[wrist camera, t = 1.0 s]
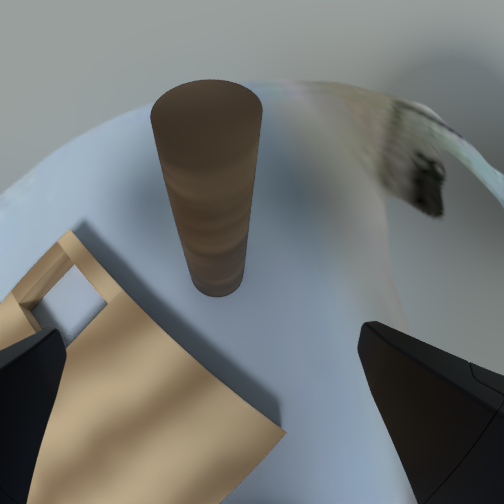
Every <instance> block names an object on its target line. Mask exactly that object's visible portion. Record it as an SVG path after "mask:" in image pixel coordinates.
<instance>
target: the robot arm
mask: <svg viewBox="0 0 504 504" xmlns="http://www.w3.org/2000/svg"><path fill="white" fill-rule="evenodd" d="M358 354H359V357H360V360H361V363H362V366H363V369H364V372H365V376H366V379H367V382H368V385H369V388H370V391H371V394H372V396H373V398H374V401H375V403H376V405H377V407H378V410H379V412H380V414H381V416H382V418H383V421H384V423H385V425H386V428H387V430H388V432H389V434H390V437H391V439H392V441H393V444H394V446H395V448H396V451H397V453H398V456H399V458H400V460H401V463H402V465H403V468H404V470H405V473H406V475H407V477H408V480H409V482H410V485H411V487H412V490H413V492H414V495H415V498H416V500H417V503H418V504H504V376H503V375H500V374H498V373H495V372H492V371H490V370H488V369H485V368H483V367H480V366H478V365H476V364H473V363H471V362H470V363H469V362H468V361H466V360H464V359H461V358H459V357H457V356H455V355H452V354H450V353H448V352H445V351H443V350H441V349H439V348H436V347H434V346H432V345H429V344H427V343H425V342H423V341H420V340H418V339H416V338H414V337H411V336H409V335H407V334H405V333H402V332H400V331H398V330H396V329H393V328H391V327H389V326H387V325H384V324H382V323H380V322H378V321H371V322H365V323H364V324H363V325H362V327H361V332H360V337H359V341H358ZM66 359H67V353H66V349H65V346H64V343H63V340H62V337H61V334H60V332H59V330H58V329H55V328H45V329H43V330H41V331H39V332H37V333H35V334H33V335H31V336H29V337H27V338H25V339H23V340H21V341H19V342H16V343H14V344H12V345H10V346H8V347H6V348H4V349H2V350H0V504H27V500H28V495H29V491H30V486H31V482H32V478H33V474H34V470H35V466H36V462H37V458H38V454H39V451H40V447H41V444H42V440H43V437H44V434H45V431H46V427H47V424H48V421H49V418H50V415H51V412H52V409H53V406H54V403H55V400H56V397H57V393H58V389H59V385H60V381H61V377H62V374H63V370H64V366H65V363H66Z"/></svg>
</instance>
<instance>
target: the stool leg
mask: <svg viewBox="0 0 504 504" xmlns="http://www.w3.org/2000/svg"><path fill="white" fill-rule="evenodd" d="M262 112H263V109H262V104H261V102H260V100H259V98H258V97H257V96H256V95H255V94H254V93H253V92H252V91H251V90H249V89H248V88H246V87H244V86H242V85H239V84H237V83H233V82H229V81H224V80H199V81H193V82H188V83H185V84H182V85H179V86H177V87H175V88H173V89H171V90H169V91H168V92H166V93H165V94H163V95H162V96H161V97H160V98H159V99H158V100H157V101H156V103H155V104H154V106H153V108H152V110H151V115H150V118H151V124H152V129H153V133H154V138H155V142H156V147H157V151H158V155H159V160H160V164H161V168H162V172H163V176H164V180H165V184H166V188H167V192H168V196H169V200H170V204H171V208H172V212H173V215H174V219H175V223H176V226H177V230H178V234H179V237H180V241H181V244H182V248H183V251H184V255H185V258H186V262H187V265H188V268H189V272H190V275H191V278H192V281H193V283H194V285H195V287H196V288H197V289H198V290H199V291H200V292H202V293H203V294H205V295H207V296H211V297H223V296H226V295H229V294H231V293H232V292H234V291H235V290H236V289H237V288H238V287H239V286H240V284H241V282H242V279H243V274H244V265H245V256H246V247H247V239H248V230H249V221H250V213H251V204H252V196H253V187H254V179H255V170H256V162H257V153H258V145H259V137H260V128H261V120H262Z"/></svg>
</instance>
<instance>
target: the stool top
mask: <svg viewBox="0 0 504 504" xmlns="http://www.w3.org/2000/svg"><path fill="white" fill-rule="evenodd" d="M74 264H75V265H76V266H77V268H78V269H79V270H80V271H81V273H82V274H83V275H84V276H85V277H86V279H87V280H88V281H89V282H90V283H91V285H92V286H93V287H94V288H95V289H96V291H97V292H98V293H99V294H100V295H101V296H102V297H103V299H104V300H105V301H106V302H107V303H108V305H107V306H106V307H105V308H104V309H103V310H102V311H101V312H100V313H99V314H98V315H97V316H96V317H95V318H94V319H93V320H92V321H91V322H90V324H89V325H88V326H87V327H86V328H85V329H84V330H83V331H82V332H81V333H80V334H79V335H78V336H77V338H76V339H75V340H74V341H73V342H72V343H71V344H70V345H69V346H68V347H67V349H66V353H67V359H66V363H65V366H64V370H63V374H62V377H61V381H60V385H59V389H58V393H57V397H56V400H55V403H54V406H53V409H52V412H51V415H50V418H49V421H48V424H47V427H46V431H45V434H44V437H43V440H42V444H41V447H40V451H39V454H38V458H37V462H36V466H35V470H34V474H33V478H32V482H31V486H30V491H29V495H28V500H27V504H219V503H220V502H221V501H222V500H223V499H224V498H225V497H226V496H227V495H228V494H229V493H230V492H231V491H233V490H234V489H235V488H236V487H237V486H238V485H239V484H240V483H241V482H242V481H243V480H244V479H245V478H246V476H247V475H248V474H249V473H250V472H251V471H252V470H253V469H254V468H255V467H256V466H257V465H258V464H259V463H260V462H261V461H262V460H263V459H264V457H265V456H266V455H267V454H268V453H269V452H270V451H271V450H272V449H273V447H274V446H275V445H276V444H277V443H278V442H279V441H280V439H281V438H282V437H283V436H284V435H285V434H286V431H284V430H283V429H281V428H280V427H279V426H277V425H276V424H275V423H273V422H272V421H271V420H269V419H268V418H266V417H265V416H264V415H262V414H261V413H260V412H258V411H257V410H256V409H255V408H253V407H252V406H251V405H249V404H248V403H247V402H246V401H244V400H243V399H242V398H240V397H239V396H238V395H237V394H235V393H234V392H233V391H232V390H231V389H229V388H228V387H227V386H226V385H224V384H223V383H222V382H221V381H220V380H218V379H217V378H216V377H215V376H214V375H213V374H211V373H210V372H209V371H208V370H207V369H206V368H204V367H203V366H202V365H201V364H200V363H199V362H198V361H196V360H195V359H194V358H193V357H192V356H191V355H190V354H189V353H187V352H186V351H185V350H184V349H183V348H182V347H181V346H180V345H179V344H178V343H176V342H175V341H174V340H173V339H172V338H171V337H170V336H169V335H168V334H167V333H166V332H165V331H164V330H163V329H162V328H161V327H160V326H159V325H158V324H156V323H155V322H154V321H153V320H152V319H151V318H150V317H149V316H148V315H147V314H146V313H145V312H144V311H143V310H142V309H141V308H140V307H139V306H138V305H137V304H136V303H135V302H134V300H133V299H132V298H131V297H130V296H129V295H128V294H127V293H126V292H125V291H124V290H123V289H122V288H121V287H120V286H119V285H118V284H117V283H116V281H115V280H114V279H113V278H112V277H111V276H110V275H109V274H108V273H107V272H106V271H105V269H104V268H103V267H102V266H101V265H100V264H99V263H98V262H97V260H96V259H95V258H94V257H93V256H92V255H91V253H90V252H89V251H88V250H87V249H86V248H85V246H84V245H83V244H82V243H81V242H80V241H79V239H78V238H77V237H76V236H75V234H74V233H73V232H72V231H71V230H70V229H69V230H68V231H67V232H66V233H65V234H64V235H63V236H62V237H61V238H60V239H59V240H58V241H57V242H56V243H55V244H54V245H53V246H52V247H51V248H50V249H49V250H48V251H47V252H46V253H45V254H44V255H43V256H42V257H41V258H40V260H39V261H38V262H37V263H36V264H35V265H34V266H33V267H32V268H31V269H30V270H29V271H28V272H27V274H26V275H25V276H24V277H23V278H22V279H21V280H20V281H19V283H18V284H17V285H16V286H15V287H14V288H13V289H12V291H11V292H10V293H9V294H8V295H7V296H6V298H5V299H4V300H3V301H2V303H1V304H0V350H2V349H4V348H6V347H8V346H10V345H12V344H14V343H16V342H19V341H21V340H23V339H25V338H27V337H29V336H31V335H33V334H35V333H37V332H39V331H41V330H43V329H42V328H41V326H40V325H39V323H38V322H37V320H36V319H35V317H34V316H33V314H32V312H31V310H32V309H33V308H34V307H35V306H36V305H37V303H38V302H39V301H40V300H41V299H42V298H43V297H44V296H45V295H46V293H47V292H48V291H49V290H50V289H51V288H52V287H53V286H54V285H55V284H56V283H57V282H58V281H59V280H60V278H61V277H62V276H63V275H64V274H65V273H66V272H67V271H68V270H69V269H70V268H71V267H72V266H73V265H74Z"/></svg>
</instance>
